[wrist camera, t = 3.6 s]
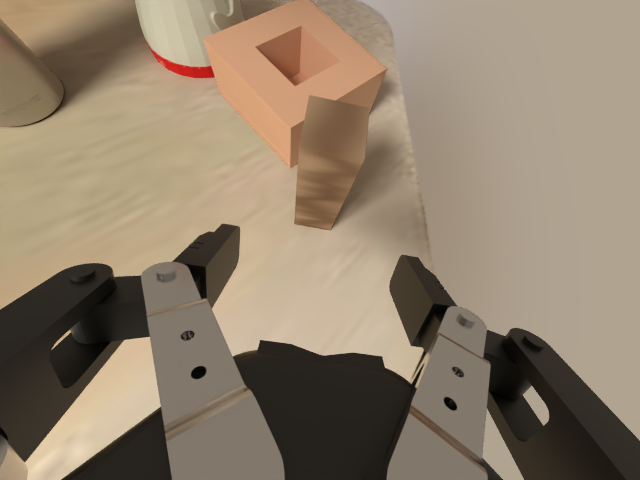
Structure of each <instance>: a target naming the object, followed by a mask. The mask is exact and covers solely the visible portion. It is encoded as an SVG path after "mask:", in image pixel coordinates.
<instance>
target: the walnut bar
mask: <svg viewBox="0 0 640 480" xmlns="http://www.w3.org/2000/svg"><path fill="white" fill-rule="evenodd" d="M368 119H369V108H368V107H363V106H358V105H354V104H349V103H345V102H340V101H335V100H331V99H326V98H321V97H317V96H312V95H309V99H308V104H307V109H306V114H305V119H304V124H303V129H302V134H301V139H300V144H299V156H298V172H297V188H296V205H295V221H294V224H296V225H302V226H308V227H314V228H319V229H325V230H331V228H332V226H333V224H334V221H335V219H336V217H337V215H338V213H339V211H340V209H341V207H342V205H343V203H344V201H345V199H346V197H347V195H348V193H349V191H350V188H351V186H352V184H353V182H354V180H355V178H356V176H357V174H358V172H359V170H360V168H361V166H362V164H363V162H364V160H365V153H366V141H367V130H368Z"/></svg>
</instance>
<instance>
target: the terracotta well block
mask: <svg viewBox="0 0 640 480" xmlns="http://www.w3.org/2000/svg"><path fill="white" fill-rule="evenodd" d="M203 40H204V43H205V47H206V50H207V53H208V56H209V60H210V63H211V66H212V69H213V73H214V76H215V79H216V82H217V86H218V89H219V92H220V94H221V95H222V96H223V98H224V99H225V100H226V101H227V102H228V103H229V104H230V105H231V106H232V107H233V108H234V109H235V110H236V111H237V112H238V113H239V114H240V116H241V117H242V118H243V119H244V120H245V121H246V122H247V123H248V124H249V125H250V126H251V127H252V128H253V129H254V130H255V131H256V133H257V134H258V135H259V136H260V137H261V138H262V139H263V140H264V141H265V142H266V143H267V144H268V145H269V146H270V147H271V148H272V149H273V151H274V152H275V153H276V154H277V155H278V156H279V157H280V158H281V159H282V160H283V161H284V162H285V163H286V164H287V165H288V166H289V168H291V167H293V166H294V165H296V164H297V163H298V156H299V144H300V139H301V134H302V129H303V124H304V119H305V114H306V109H307V104H308V99H309V95H312V96H317V97H321V98H326V99H331V100H335V101H340V102H345V103H349V104H354V105H358V106H363V107H368V108H369V113H370V110H371V108H372V105H373V103H374V100H375V98H376V95H377V93H378V90H379V88H380V85H381V82H382V80H383V77H384V75H385V72H386V70H387V68H386V67H384V66H383V65H382V64H381V63H380V62H379V61H378V60H377V59H375V58H374V57H373V56H372V55H371V54H370V53H369V52H368V51H366V50H365V49H364V48H363V47H362V46H361V45H360V44H359V43H357V42H356V41H355V40H354V39H353V38H352V37H351V36H350V35H348V34H347V33H346V32H345V31H344V30H343V29H342V28H341V27H339V26H338V25H337V24H336V23H335V22H334V21H333V20H332V19H330V18H329V17H328V16H327V15H326V14H325V13H324V12H323V11H321V10H320V9H319V8H318V7H317V6H316V5H315V4H314V3H312V2H311V1H310V0H294V1H291V2H289V3H287V4H284V5H282V6H279V7H277V8H275V9H272V10H270V11H267V12H265V13H263V14H260V15H258V16H255V17H253V18H251V19H248V20H246V21H243V22H241V23H239V24H236V25H234V26H231V27H229V28H227V29H224V30H222V31H219V32H217V33H215V34H212V35H210V36H207V37H205V38H203Z"/></svg>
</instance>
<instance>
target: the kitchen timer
mask: <svg viewBox="0 0 640 480" xmlns="http://www.w3.org/2000/svg"><path fill="white" fill-rule="evenodd" d="M135 3H136V8H137V13H138V17H139V21H140V25H141V29H142V32H143V34H144V37H145V39H146V41H147V43H148V45H149V47H150V49H151V51H152V53H153V54H154V56H155V57H156V59H157V60H158V62H159V63H161V64H162V65H163V66H164V67H166V68H167V69H168V70H171V71H173V72H175V73H177V74H180V75H183V76H188V77H193V78H212V77H215V76H214V73H213V69H212V66H211V63H210V60H209V56H208V53H207V50H206V47H205V43H204V40H203V38H205V37H207V36H210V35H212V34H215V33H217V32H219V31H222V30H224V29H227V28H229V27H231V26H234V25H236V24H239V23H241V22H243V21H245V19H244V16H243V13H242V7H241V1H240V0H135Z"/></svg>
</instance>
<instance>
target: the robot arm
mask: <svg viewBox="0 0 640 480" xmlns="http://www.w3.org/2000/svg"><path fill="white" fill-rule="evenodd" d="M63 95H64V88H63V85H62V83H61V81H60V80H59V79H58V78H57V77H56V76H55V75H54V74H53V73H52V72H51V71H50V70H49V68H48V67H47V66H46V65H45V64H44V63H43V62H42V61H41V60H40V59H39V58H38V57H37V56H36V55H35V54H34V53H33V52H32V51H31V50H30V49H29V48H28V47H27V46H26V45H25V44H24V42H23V41H22V40H21V39H20V38H19V37H18V36H17V35H16V34H15V33H14V32H13V31H12V30H11V29H10V28H9V27H8V26H7V25H6V24H5V23H4V22H3V21H2V20H1V19H0V126H7V127H13V126H22V125H27V124H31V123H34V122H37V121H39V120H41V119H43V118H45V117H47V116H48V115H50V114H51V113H52V112H54V111H55V109H56V108H57V107H58V106H59V105H60V103H61V101H62V99H63ZM239 244H240V227H239V226H234V225H228V224H222V225H221V226H220V227H219V228H218V229H217V230H216V231H215V232H207V233H205V234H202V235H200V236H199V237H198V238H197V239H196V240H195V241H194V242H193V243H191V244H190V245H189V247H187V248H186V249H185V250H184V251H183V252H182V253H181V254H180V255H179V256H178V257H177V258H176V259H175V260H174V261H172V262H164V263H159V264H155V265H153V266H151V267H149V268H147V269H146V270H145V271H144V272H143V273H142V275H141V276H124V277H114V274H113V270H112V268H111V267H110V266H108V265H105V264H99V263H90V264H82V265H77V266H74V267H70V268H67V269H65V270H63V271H61V272H59V273H57V274H56V275H54V276H53V277H51V278H49V279H48V280H46V281H45V282H43V283H42V284H40V285H38V286H37V287H35V288H34V289H32V290H31V291H29V292H27V293H26V294H24V295H23V296H21V297H20V298H18V299H16V300H15V301H13V302H12V303H10V304H9V305H7V306H5V307H4V308H2V309H1V310H0V480H27V474H28V471H27V466H26V464H25V462H26V460H27V459H28V458H29V457H30V455H31V454H32V453H33V452H34V451H35V449H36V448H37V447H38V446H39V444H40V443H41V442H42V441H43V439H44V438H45V437H46V436H47V435H48V433H49V432H50V431H51V430H52V428H53V427H54V426H55V425H56V423H57V422H58V421H59V420H60V418H61V417H62V416H63V415H64V414H65V412H66V411H67V410H68V409H69V407H70V406H71V405H72V404H73V402H74V401H75V400H76V399H77V397H78V396H79V395H80V394H81V393H82V391H83V390H84V389H85V388H86V386H87V385H88V384H89V383H90V381H91V380H92V379H93V378H94V376H95V375H96V374H97V373H98V372H99V370H100V369H101V368H102V367H103V365H104V364H105V363H106V362H107V360H108V359H109V358H110V357H111V356H112V354H113V353H114V352H115V351H116V349H117V348H118V347H119V346H120V344H121V343H122V342H123V341H124V340H126V339H134V338H142V337H150V340H151V346H152V353H153V359H154V365H155V372H156V378H157V384H158V391H159V397H160V403H161V407H160V408H158V409H157V410H156V411H154V412H153V413H152V414H150V415H149V416H147V417H146V418H145V419H143V420H142V421H141V422H139V423H138V424H137V425H135V426H134V427H132V428H131V429H130V430H128V431H127V432H126V433H124V434H123V435H122V436H120V437H119V438H117V439H116V440H115V441H113V442H112V443H111V444H109V445H108V446H107V447H105V448H104V449H102V450H101V451H100V452H98V453H97V454H96V455H94V456H93V457H91V458H90V459H89V460H87V461H86V462H85V463H83V464H82V465H81V466H79V467H78V468H76V469H75V470H74V471H72V472H71V473H70V474H68V475H67V476H66V477H64V478H63V479H61V480H503V479H502V478H501V477H500V476H499V475H498V474H497V473H496V472H495V471H494V470H493V469H492V468H491V467H490V466H489V464H488V463H487V462H486V461H485V460H484V459H483V458H482V453H483V442H484V431H485V421H486V409H488V411H489V412H490V415H491V417H492V418H493V420H494V422H495V424H496V426H497V428H498V430H499V432H500V434H501V436H502V438H503V440H504V441H505V443H506V445H507V447H508V449H509V451H510V453H511V455H512V457H513V459H514V461H515V463H516V465H517V466H518V468H519V470H520V472H521V474H522V476H523V478H524V480H640V441H639V440H638V439H637V437H636V436H635V435H634V434H633V433H632V432H631V431H630V430H629V429H628V428H627V427H626V426H625V425H624V424H623V423H622V422H621V421H620V420H619V418H618V417H617V416H616V415H615V414H614V413H613V412H612V411H611V410H610V409H609V408H608V407H607V406H606V405H605V404H604V403H603V402H602V400H601V399H600V398H598V396H597V395H596V394H595V393H594V392H593V391H592V390H591V389H590V388H589V387H588V386H587V385H586V384H585V383H584V382H583V380H582V379H581V378H580V377H579V376H578V375H577V374H576V373H575V372H574V371H573V370H572V369H571V368H570V367H569V366H568V365H567V363H565V361H564V360H563V359H562V358H561V357H560V356H559V355H558V354H557V353H556V352H555V351H554V350H553V349H552V348H551V347H550V346H549V345H548V344H547V343H546V342H545V341H543V340H542V339H541V338H539V337H538V336H536V335H534V334H532V333H530V332H528V331H526V330H523V329H519V328H513V329H511V330H510V331H509V332H508V334H507V335H506V336H503V335H500V334H497V333H495V332H492V331H489V330H487V327H486V325H485V323H484V322H483V321H482V320H481V319H480V318H479V317H478V316H477V315H475V314H474V313H472V312H471V311H469V310H467V309H464V308H461V307H457V305H456V304H455V303H454V301H453V300H452V298H451V297H450V296H449V294H448V293H447V291H446V290H444V287H443V286H442V285H441V284H440V282H439V280H438V279H437V278H436V276H435V275H434V274H433V273H431V272H430V271H429V270H428V269H426V268H425V267H424V265H423V264H422V262H421V261H420V260H419V258H418V257H412V256H407V255H401V256H400V258H399V260H398V263H397V265H396V268H395V270H394V273H393V275H392V278H391V280H390V293H391V296H392V298H393V301H394V303H395V306H396V308H397V311H398V314H399V316H400V319H401V321H402V324H403V326H404V329H405V331H406V334H407V336H408V339H409V342H410V344H411V346H416V347H423V349H424V351H423V353H422V355H421V357H420V359H419V361H418V363H417V365H416V368H415V370H414V372H413V374H412V376H411V379H410V381H409V382H408V381H407V380H406V379H404V378H403V377H402V376H400V375H398V374H397V373H395V372H393V371H391V370H389V369H387V368H385V367H384V363H383V359H382V357H381V356H373V355H366V354H359V353H346V354H336V355H327V356H322V355H318V354H316V353H313V352H310V351H308V350H305V349H302V348H300V347H297V346H295V345H292V344H286V343H278V342H271V341H264V340H260V344H259V347H258V350H254V351H249V352H244V353H241V354H238V355H235V356H233V357H232V355H231V352H230V350H229V348H228V345H227V343H226V341H225V339H224V336H223V334H222V332H221V329H220V327H219V325H218V323H217V320H216V318H215V316H214V313H213V311H212V307H213V306H214V304H215V302H216V301H217V299H218V297H219V295H220V294H221V292H222V290H223V289H224V287H225V285H226V283H227V282H228V280H229V278H230V277H231V275H232V273H233V271H234V270H235V268H236V266H237V263H238V259H239ZM69 330H71V333H70V334H69V335H68V336H67V337H65V338H64V339H63V340H62V341H61V342H60V343H59V344H58V345H57V346H56V347H55V348H54V349H52V347H53V346H54V344H55V343H56V342H57V341H58V340H59V339H60V338H61V337H62V336H63V335H64V334H65V333H66V332H67V331H69ZM51 349H52V350H51ZM531 386H533V387H534V389H535V390H536V392H537V393H538V394H539V396H540V397H541V398H542V400H543V401H544V402H545V404H546V406H547V408H548V410H549V421H548V423H547V424H545V425H544V426H543V425H542V423H541V422H540V420H539V419H538V417H537V416H536V414H535V413H534V411H533V410H532V408H531V407H530V405H529V404H528V402H527V401H526V400H525V398H524V397H523V394H524V393H525V392H526V391H527V390H528V389H529V388H530V387H531Z"/></svg>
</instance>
